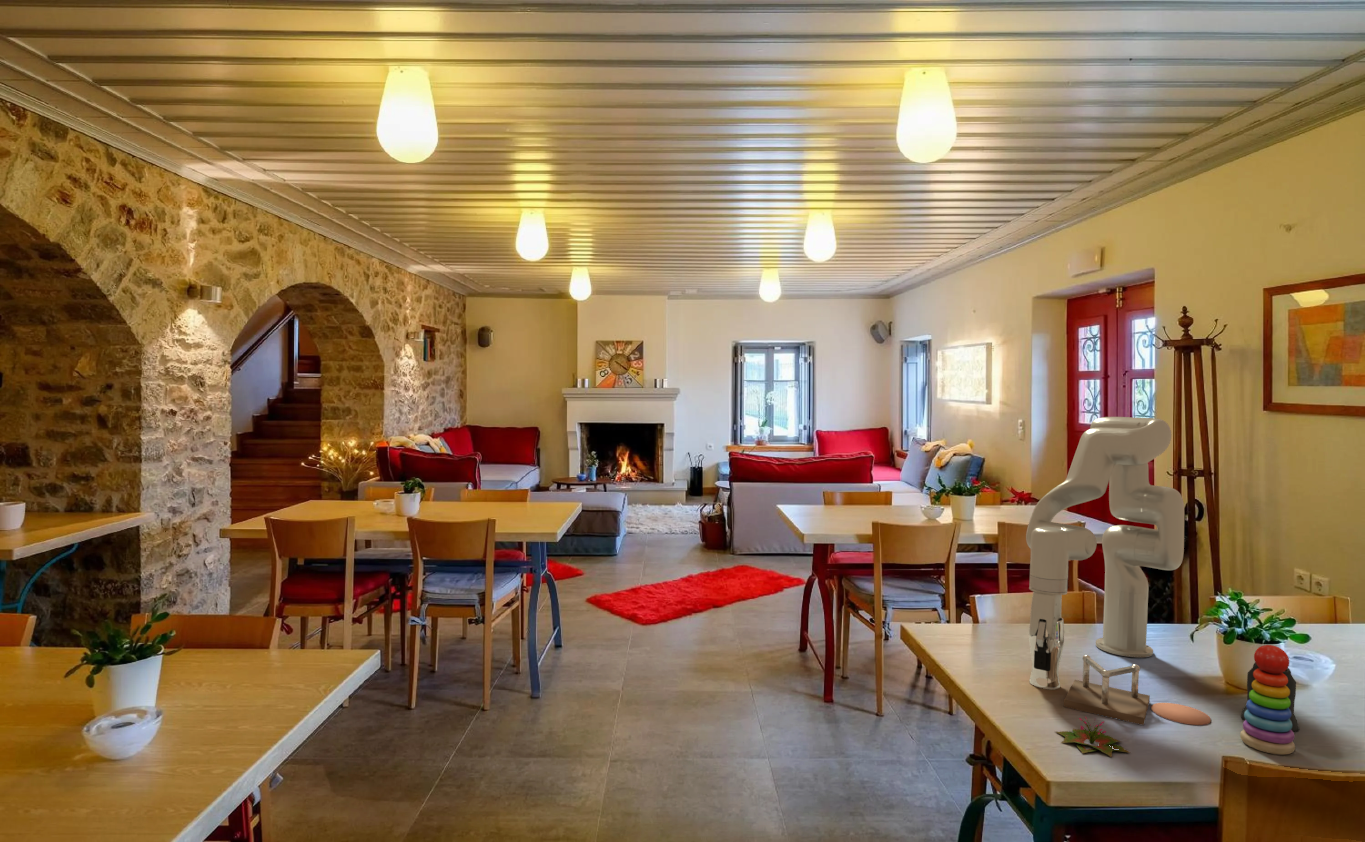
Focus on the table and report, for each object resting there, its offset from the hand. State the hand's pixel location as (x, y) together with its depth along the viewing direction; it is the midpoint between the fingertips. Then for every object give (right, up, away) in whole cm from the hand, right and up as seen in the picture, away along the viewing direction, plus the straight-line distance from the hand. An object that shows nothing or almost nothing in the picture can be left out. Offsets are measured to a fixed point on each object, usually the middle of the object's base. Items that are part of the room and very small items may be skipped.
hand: (1045, 664), depth 166 cm
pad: (+20, -5, -14) cm, 25 cm away
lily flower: (-5, -6, -28) cm, 29 cm away
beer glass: (0, -5, 0) cm, 5 cm away
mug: (+37, -6, -16) cm, 41 cm away
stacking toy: (+27, -6, -28) cm, 39 cm away
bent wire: (+8, -3, -10) cm, 13 cm away
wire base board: (+8, -5, -10) cm, 14 cm away
